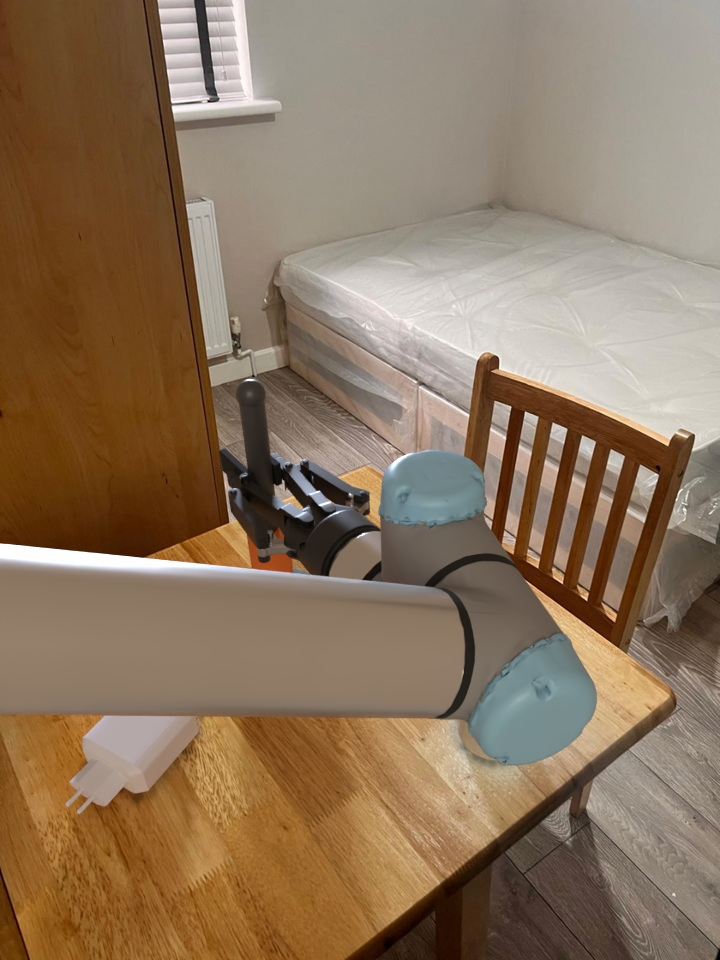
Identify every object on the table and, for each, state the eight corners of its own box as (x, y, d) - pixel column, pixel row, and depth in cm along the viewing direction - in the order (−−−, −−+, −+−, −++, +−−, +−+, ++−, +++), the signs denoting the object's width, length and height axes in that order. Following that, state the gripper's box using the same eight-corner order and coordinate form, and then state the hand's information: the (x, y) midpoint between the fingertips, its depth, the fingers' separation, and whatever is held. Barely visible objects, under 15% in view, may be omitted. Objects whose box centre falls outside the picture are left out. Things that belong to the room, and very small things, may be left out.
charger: (48, 803, 81) (143, 705, 91) (108, 842, 77) (200, 735, 88) (36, 778, 78) (135, 680, 89) (98, 817, 74) (194, 709, 85)
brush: (270, 592, 84) (245, 397, 70) (244, 573, 87) (215, 381, 72) (301, 572, 87) (283, 379, 72) (275, 554, 90) (252, 365, 75)
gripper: (288, 630, 65) (178, 506, 81) (422, 560, 73) (297, 458, 88) (281, 567, 61) (166, 449, 77) (424, 499, 68) (292, 404, 84)
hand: (236, 454), depth 83 cm, fingers closed on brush, 3 cm apart
